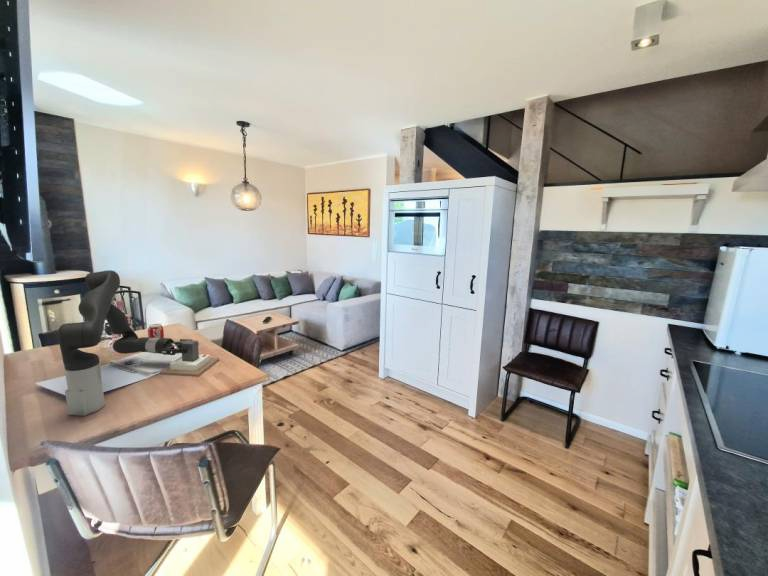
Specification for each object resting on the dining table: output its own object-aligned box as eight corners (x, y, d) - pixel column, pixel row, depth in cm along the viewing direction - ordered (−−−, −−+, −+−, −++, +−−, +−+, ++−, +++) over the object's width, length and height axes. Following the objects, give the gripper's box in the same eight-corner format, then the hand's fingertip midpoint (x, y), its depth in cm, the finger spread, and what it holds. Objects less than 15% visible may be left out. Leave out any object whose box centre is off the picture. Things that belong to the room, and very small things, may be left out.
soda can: (167, 344, 181) (166, 324, 179) (157, 348, 174) (156, 327, 172) (156, 343, 182) (154, 323, 179) (145, 347, 175) (144, 326, 172)
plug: (193, 367, 153) (192, 344, 151) (182, 366, 153) (181, 343, 151) (199, 363, 158) (197, 340, 155) (188, 362, 158) (187, 340, 155)
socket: (198, 376, 147) (197, 367, 146) (159, 374, 147) (159, 365, 146) (219, 360, 164) (218, 352, 164) (184, 358, 165) (184, 350, 164)
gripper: (148, 343, 146) (182, 345, 146) (169, 333, 160) (201, 335, 160) (149, 358, 148) (184, 361, 148) (170, 347, 162) (202, 349, 161)
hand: (192, 347), depth 154 cm, fingers open, 8 cm apart
